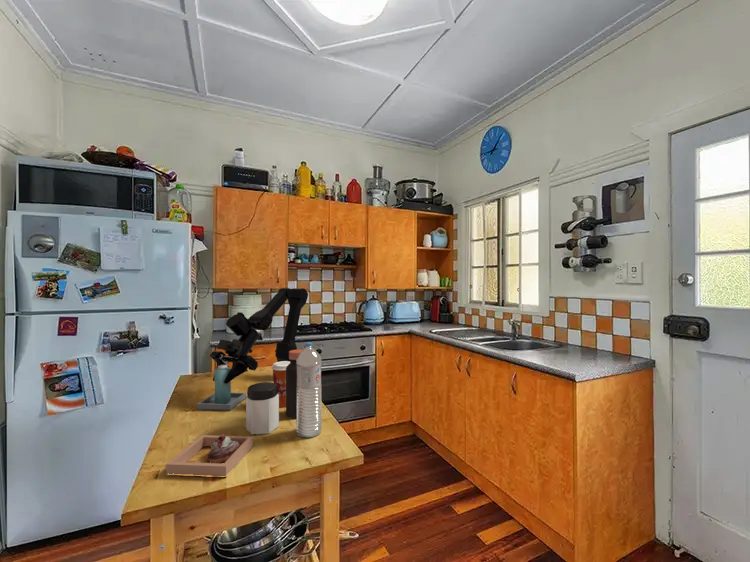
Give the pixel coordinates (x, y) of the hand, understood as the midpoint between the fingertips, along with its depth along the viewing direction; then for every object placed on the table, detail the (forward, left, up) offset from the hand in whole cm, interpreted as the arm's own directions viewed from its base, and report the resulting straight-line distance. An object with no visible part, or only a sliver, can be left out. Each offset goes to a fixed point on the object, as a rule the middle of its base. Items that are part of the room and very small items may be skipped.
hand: (219, 381), depth 112 cm
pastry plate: (-17, +33, -8) cm, 38 cm away
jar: (-22, +16, -8) cm, 28 cm away
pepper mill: (-1, -1, -7) cm, 7 cm away
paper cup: (-22, -2, -8) cm, 23 cm away
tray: (-1, -1, -8) cm, 8 cm away
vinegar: (-29, +6, -8) cm, 30 cm away
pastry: (-18, +31, -8) cm, 37 cm away
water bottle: (-36, +18, -8) cm, 41 cm away
